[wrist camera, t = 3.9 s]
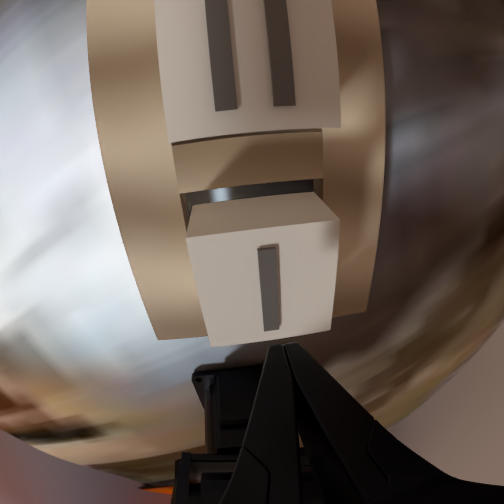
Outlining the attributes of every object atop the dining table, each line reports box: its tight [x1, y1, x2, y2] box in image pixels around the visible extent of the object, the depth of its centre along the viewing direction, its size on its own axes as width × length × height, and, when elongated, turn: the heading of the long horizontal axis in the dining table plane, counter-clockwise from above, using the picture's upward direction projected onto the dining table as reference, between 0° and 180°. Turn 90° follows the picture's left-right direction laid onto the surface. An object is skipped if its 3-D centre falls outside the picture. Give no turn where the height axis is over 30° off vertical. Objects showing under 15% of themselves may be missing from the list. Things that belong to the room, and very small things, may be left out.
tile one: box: [186, 192, 340, 347], centre depth 12 cm, size 5×5×3 cm
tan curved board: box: [87, 0, 386, 340], centre depth 10 cm, size 26×12×2 cm, turn 5°
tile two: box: [154, 0, 341, 143], centre depth 8 cm, size 5×5×3 cm
